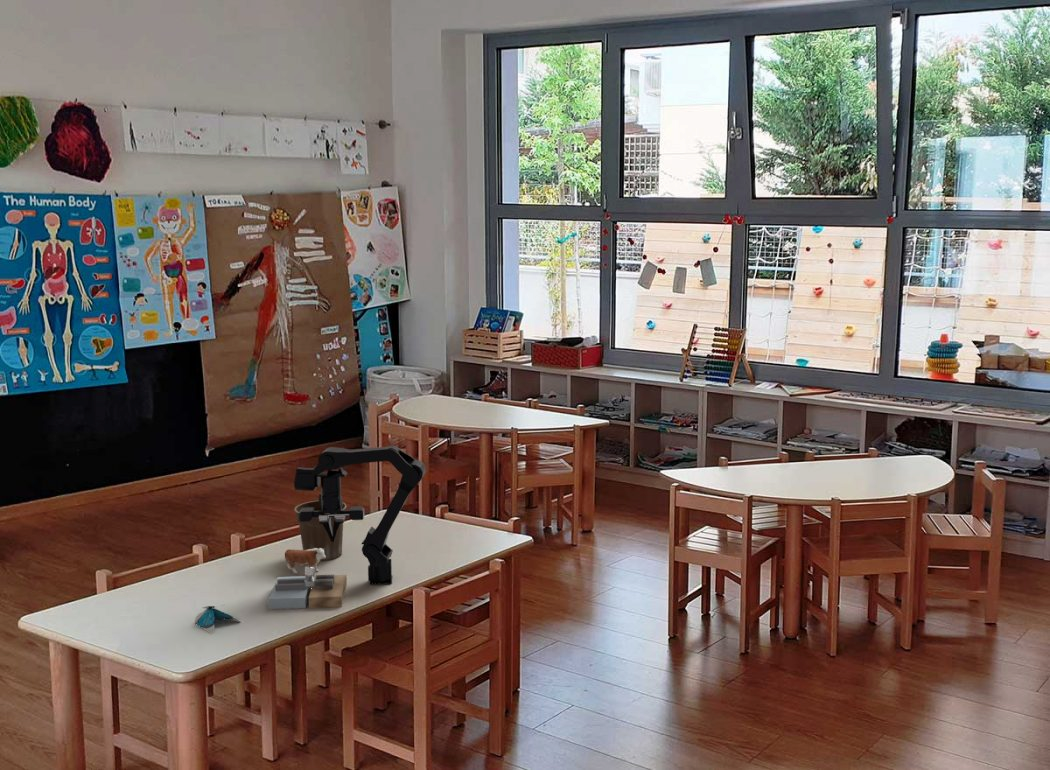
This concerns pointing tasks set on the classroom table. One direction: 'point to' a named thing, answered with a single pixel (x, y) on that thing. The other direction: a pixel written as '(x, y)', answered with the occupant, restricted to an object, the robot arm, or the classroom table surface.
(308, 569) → the bolt
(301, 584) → the door panel
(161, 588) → the classroom table surface
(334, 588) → the jamb
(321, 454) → the robot arm
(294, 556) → the bull figurine
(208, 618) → the decorative butterfly
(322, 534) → the plant pot
